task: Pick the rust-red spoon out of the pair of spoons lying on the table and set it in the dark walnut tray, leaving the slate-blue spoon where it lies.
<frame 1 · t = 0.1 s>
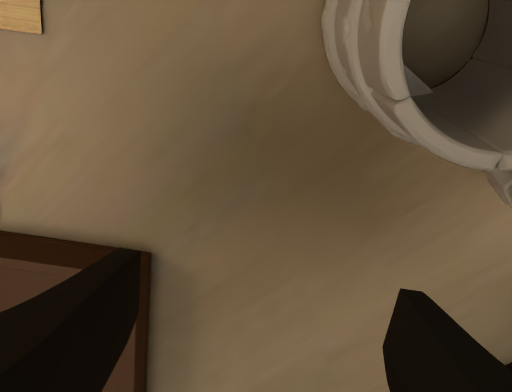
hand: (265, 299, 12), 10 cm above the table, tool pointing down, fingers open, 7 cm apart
tray: (47, 360, 27), on the table
mug: (433, 62, 19), on the table
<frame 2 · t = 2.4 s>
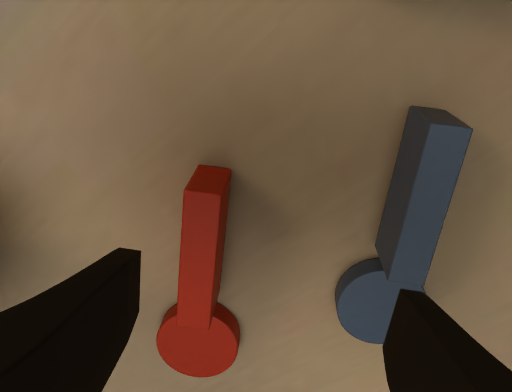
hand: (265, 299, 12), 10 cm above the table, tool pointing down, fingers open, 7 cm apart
blue spoon: (408, 182, 21), on the table
red spoon: (209, 231, 23), on the table
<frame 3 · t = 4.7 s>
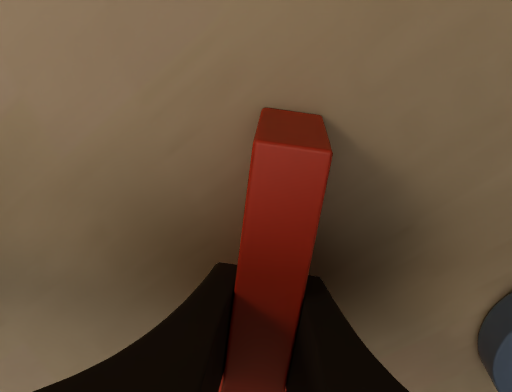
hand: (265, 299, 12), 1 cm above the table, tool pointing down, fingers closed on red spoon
red spoon: (273, 228, 13), on the table, touching gripper
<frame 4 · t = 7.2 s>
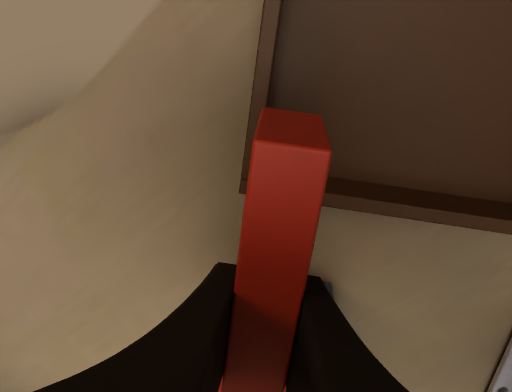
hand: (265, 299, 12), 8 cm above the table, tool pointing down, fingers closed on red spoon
red spoon: (273, 228, 13), point 7 cm above the table, touching gripper
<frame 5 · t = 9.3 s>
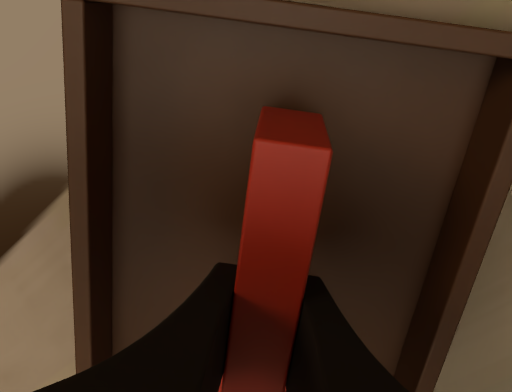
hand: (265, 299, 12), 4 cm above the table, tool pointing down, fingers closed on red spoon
tray: (266, 261, 16), on the table
red spoon: (273, 227, 13), point 2 cm above the table, touching gripper
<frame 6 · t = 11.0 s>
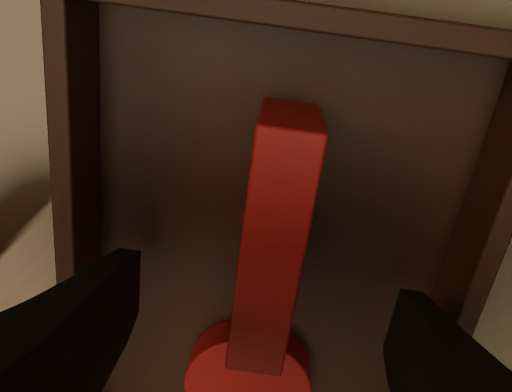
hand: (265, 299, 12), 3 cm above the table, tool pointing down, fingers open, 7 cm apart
tray: (264, 274, 15), on the table
red spoon: (274, 212, 14), resting on tray
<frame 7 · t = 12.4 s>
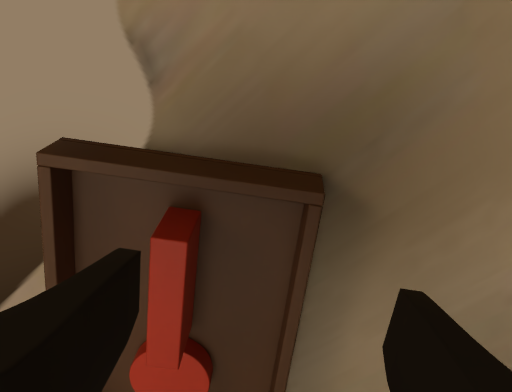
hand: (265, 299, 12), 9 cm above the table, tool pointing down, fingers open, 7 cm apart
tray: (180, 306, 24), on the table
red spoon: (180, 270, 23), resting on tray
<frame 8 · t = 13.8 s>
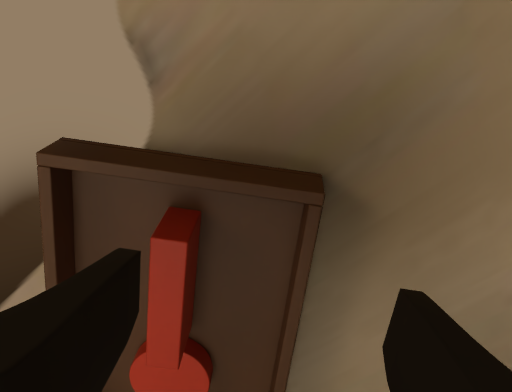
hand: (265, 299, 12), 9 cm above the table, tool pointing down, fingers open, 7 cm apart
tray: (180, 306, 24), on the table
red spoon: (180, 270, 23), resting on tray
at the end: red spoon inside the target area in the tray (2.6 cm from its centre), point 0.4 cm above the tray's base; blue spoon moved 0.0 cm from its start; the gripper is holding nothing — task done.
